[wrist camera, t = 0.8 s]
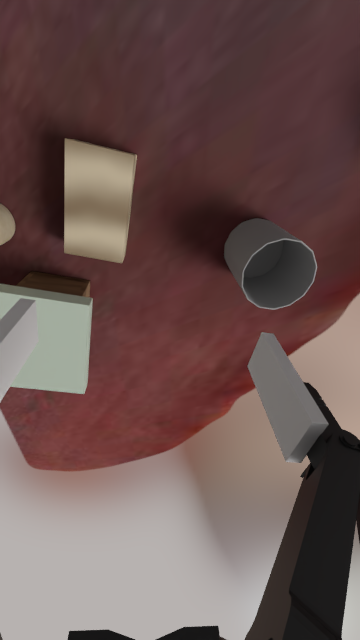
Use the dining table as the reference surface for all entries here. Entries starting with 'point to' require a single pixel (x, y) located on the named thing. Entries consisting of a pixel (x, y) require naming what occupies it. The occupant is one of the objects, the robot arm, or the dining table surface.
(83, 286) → the walnut box
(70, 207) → the block
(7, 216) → the candle
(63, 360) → the lid
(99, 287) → the dining table surface
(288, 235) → the cup
